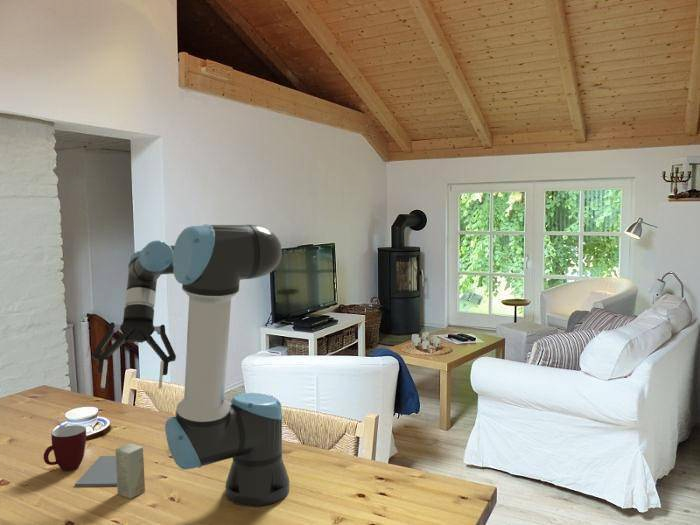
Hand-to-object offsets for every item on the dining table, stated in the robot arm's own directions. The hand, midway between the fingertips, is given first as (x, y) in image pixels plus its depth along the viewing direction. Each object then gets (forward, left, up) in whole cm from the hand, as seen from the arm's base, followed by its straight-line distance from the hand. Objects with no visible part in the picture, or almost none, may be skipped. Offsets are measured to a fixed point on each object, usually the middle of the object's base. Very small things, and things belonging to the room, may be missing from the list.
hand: (131, 387), depth 146 cm
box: (-3, +10, -23) cm, 25 cm away
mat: (+6, -1, -22) cm, 23 cm away
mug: (+18, -2, -23) cm, 29 cm away
